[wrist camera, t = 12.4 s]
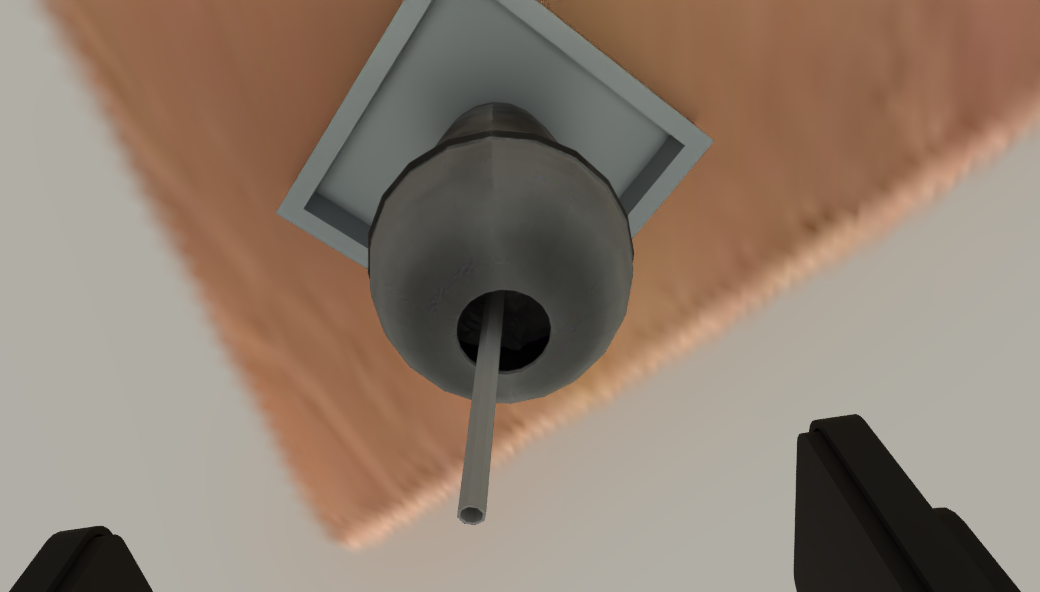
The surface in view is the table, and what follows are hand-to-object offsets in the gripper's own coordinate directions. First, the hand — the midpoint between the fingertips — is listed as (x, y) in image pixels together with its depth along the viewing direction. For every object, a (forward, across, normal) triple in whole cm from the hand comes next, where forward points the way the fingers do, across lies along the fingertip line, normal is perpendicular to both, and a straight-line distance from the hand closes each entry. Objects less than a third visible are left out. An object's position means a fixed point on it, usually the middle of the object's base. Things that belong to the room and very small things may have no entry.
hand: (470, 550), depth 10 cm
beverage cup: (+22, 0, +1) cm, 22 cm away
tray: (+23, 0, +1) cm, 23 cm away
